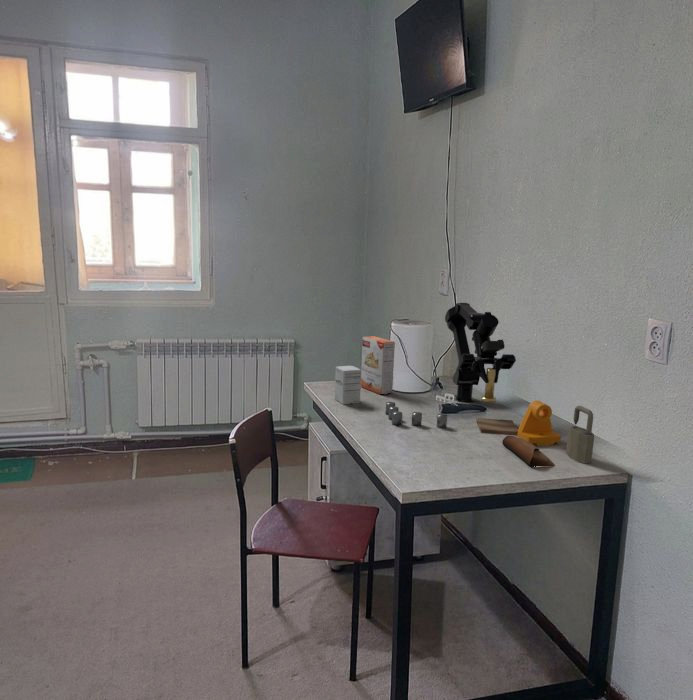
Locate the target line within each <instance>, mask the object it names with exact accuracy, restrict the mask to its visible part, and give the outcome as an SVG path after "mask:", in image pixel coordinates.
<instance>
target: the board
mask: <svg viewBox="0 0 693 700" xmlns="http://www.w3.org/2000/svg"><path fill="white" fill-rule="evenodd" d="M475 423H476V425H477V427H478V429H479V431H480V433H485V434H486V433H488V434H500V435H501V434H502V435H514V436H515V435H517V436H518V429H519V428H518V427H517V426H516V424H515V422H514V421H513V420H511V419H498V418H479V417H478V418H477V417H476V419H475Z"/></svg>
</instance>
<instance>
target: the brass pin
mask: <svg viewBox="0 0 693 700" xmlns="http://www.w3.org/2000/svg"><path fill="white" fill-rule="evenodd" d="M486 375H487V379H488V382H487V383H485V386H484V395H482V396H481V401H482V402H485V403H495V402H496V401H497V397H495V395H494V394H495V386H496V385H495V384H496V383H495V375H496V369H494V368H493V367H487V368H486Z"/></svg>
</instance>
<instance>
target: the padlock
mask: <svg viewBox="0 0 693 700" xmlns="http://www.w3.org/2000/svg"><path fill="white" fill-rule="evenodd" d="M580 412H582V413H584V414H586V415H587V420H586V427H585V428H584V427H580V426H578V425H577V424H578V422H579V420H580ZM593 422H594V413H593V411H592V410H591V409H589V408H587V407H584V406H582V405H577V406H575V407H574V411H573V423H574V425H570V426H568V436H567V443H566V444H567V445H566V452H565V453H566V455H567V456H568V457H569V458H571V459H572V460H574V461H576V462H579V463H582V464H592V460H593V459H592V458H593V449H594V443H595V442H594V441H595V434H594V433H593V432H592V430H593Z"/></svg>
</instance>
